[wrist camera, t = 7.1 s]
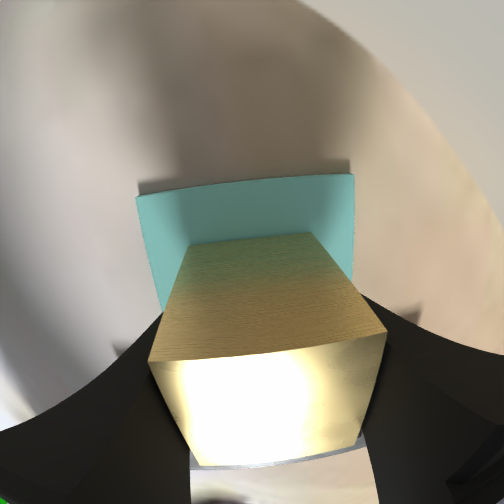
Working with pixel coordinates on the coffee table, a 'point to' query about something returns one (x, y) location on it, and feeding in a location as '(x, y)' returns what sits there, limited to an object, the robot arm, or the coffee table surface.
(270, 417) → the brass block
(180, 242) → the teal mat
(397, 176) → the coffee table surface
